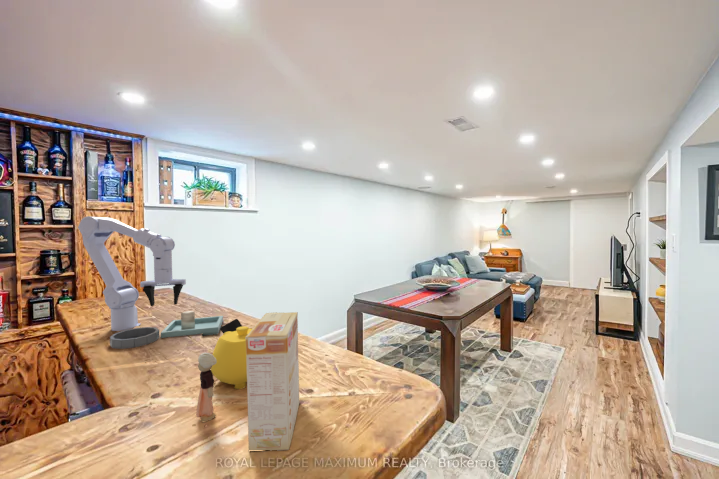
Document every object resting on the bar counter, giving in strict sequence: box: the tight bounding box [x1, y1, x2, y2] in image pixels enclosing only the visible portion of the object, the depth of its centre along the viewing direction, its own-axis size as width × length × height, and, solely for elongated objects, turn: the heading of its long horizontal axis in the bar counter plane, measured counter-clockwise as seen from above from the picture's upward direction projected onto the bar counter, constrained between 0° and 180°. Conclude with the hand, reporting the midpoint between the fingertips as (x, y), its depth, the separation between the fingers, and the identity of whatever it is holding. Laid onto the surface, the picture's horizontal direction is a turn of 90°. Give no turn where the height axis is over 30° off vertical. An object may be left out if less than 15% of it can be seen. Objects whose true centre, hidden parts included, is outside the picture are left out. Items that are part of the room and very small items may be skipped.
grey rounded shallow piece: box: [109, 326, 160, 350], centre depth 103 cm, size 13×13×4 cm
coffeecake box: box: [245, 311, 300, 451], centre depth 58 cm, size 15×7×20 cm, turn 4°
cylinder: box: [180, 310, 196, 330], centre depth 115 cm, size 4×4×6 cm
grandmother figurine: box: [195, 352, 217, 422], centre depth 61 cm, size 8×4×13 cm, turn 45°
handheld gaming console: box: [220, 318, 243, 335], centre depth 107 cm, size 12×7×10 cm
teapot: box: [210, 325, 253, 390], centre depth 77 cm, size 14×20×13 cm
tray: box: [160, 315, 224, 339], centre depth 116 cm, size 16×18×2 cm
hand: (164, 304), depth 117 cm, fingers open, 7 cm apart
